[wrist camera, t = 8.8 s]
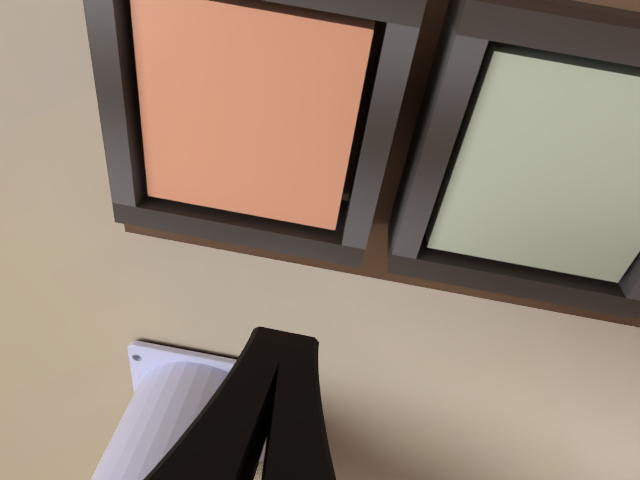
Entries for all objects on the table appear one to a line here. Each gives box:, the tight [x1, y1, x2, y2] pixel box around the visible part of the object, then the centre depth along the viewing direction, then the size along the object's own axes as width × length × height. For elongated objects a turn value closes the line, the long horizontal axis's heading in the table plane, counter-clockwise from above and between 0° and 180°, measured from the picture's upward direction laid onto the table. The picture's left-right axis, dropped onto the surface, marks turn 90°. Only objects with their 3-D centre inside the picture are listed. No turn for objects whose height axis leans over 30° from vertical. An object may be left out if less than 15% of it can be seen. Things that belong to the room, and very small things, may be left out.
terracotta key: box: [130, 0, 375, 230], centre depth 15 cm, size 6×6×2 cm
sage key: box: [425, 41, 640, 283], centre depth 15 cm, size 6×6×2 cm
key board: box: [83, 0, 640, 327], centre depth 15 cm, size 14×30×4 cm, turn 82°
